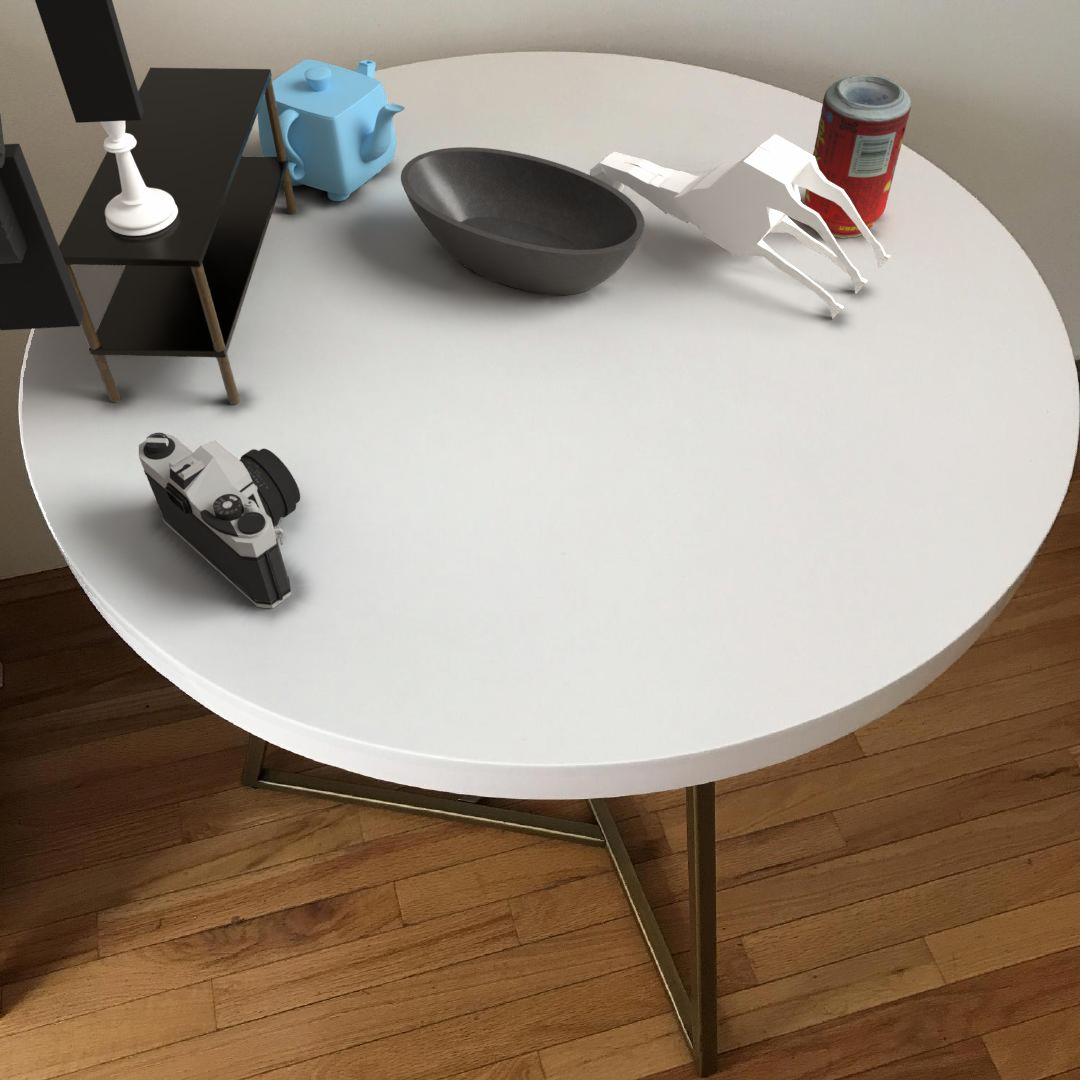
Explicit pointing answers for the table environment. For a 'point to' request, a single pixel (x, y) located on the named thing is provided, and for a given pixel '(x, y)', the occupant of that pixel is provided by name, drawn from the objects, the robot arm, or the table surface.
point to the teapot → (331, 126)
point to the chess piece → (134, 191)
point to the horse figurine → (747, 203)
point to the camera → (226, 509)
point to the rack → (184, 219)
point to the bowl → (523, 218)
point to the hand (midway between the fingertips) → (80, 210)
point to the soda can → (859, 148)
